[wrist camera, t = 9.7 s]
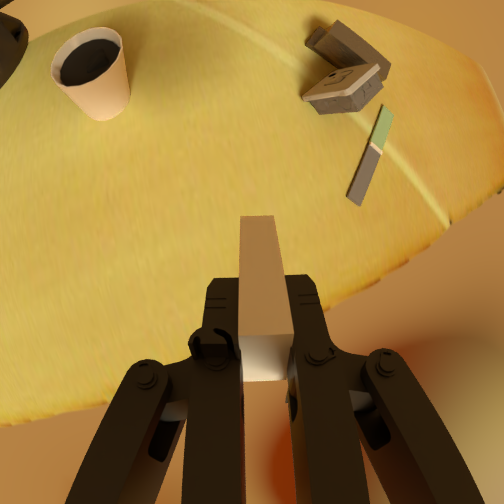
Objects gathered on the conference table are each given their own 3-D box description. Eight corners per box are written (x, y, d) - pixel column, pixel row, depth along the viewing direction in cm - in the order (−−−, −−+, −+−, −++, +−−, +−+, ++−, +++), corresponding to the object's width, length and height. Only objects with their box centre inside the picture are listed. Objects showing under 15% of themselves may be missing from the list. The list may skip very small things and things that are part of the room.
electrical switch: (332, 71, 31) (371, 52, 23) (351, 96, 33) (392, 82, 25) (297, 98, 30) (337, 78, 23) (320, 125, 32) (362, 113, 24)
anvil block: (305, 45, 29) (322, 28, 24) (316, 28, 29) (333, 12, 25) (369, 94, 33) (391, 84, 28) (376, 75, 33) (397, 64, 28)
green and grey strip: (346, 196, 34) (349, 196, 33) (382, 105, 34) (385, 104, 33) (358, 206, 34) (361, 206, 34) (392, 115, 35) (395, 114, 34)
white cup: (123, 65, 24) (112, 16, 14) (142, 106, 25) (132, 62, 16) (74, 92, 22) (45, 52, 13) (90, 135, 24) (58, 103, 15)
